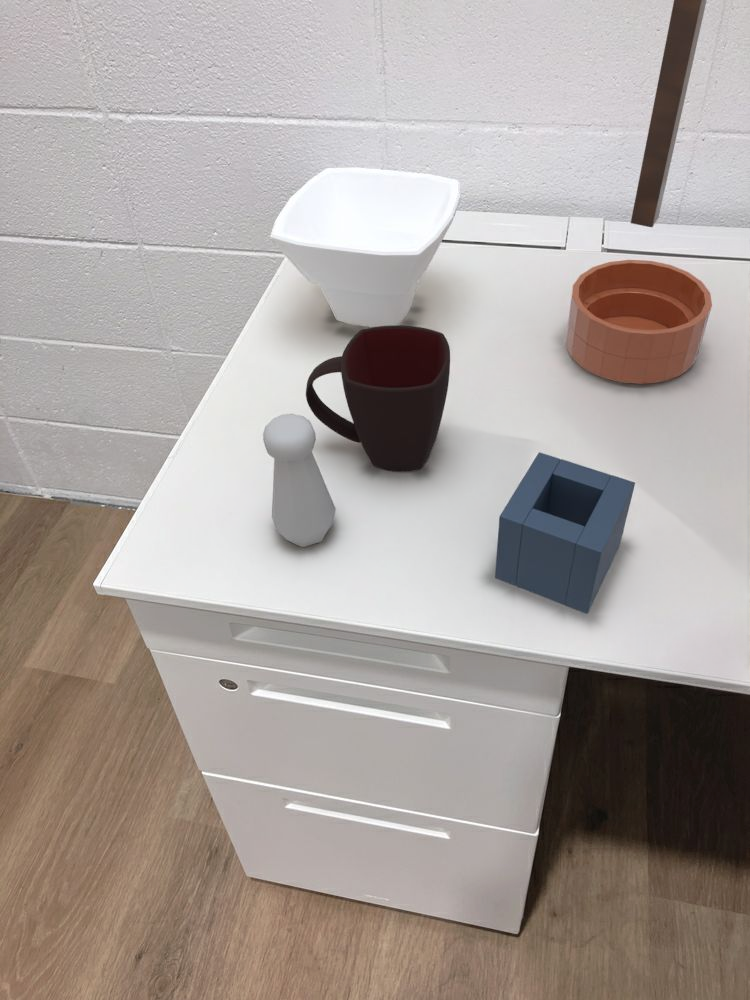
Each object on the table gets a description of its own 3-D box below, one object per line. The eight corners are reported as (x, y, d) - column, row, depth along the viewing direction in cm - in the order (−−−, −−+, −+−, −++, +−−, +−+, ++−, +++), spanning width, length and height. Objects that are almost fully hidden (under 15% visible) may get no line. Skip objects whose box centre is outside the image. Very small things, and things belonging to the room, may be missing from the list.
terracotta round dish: (710, 330, 93) (726, 276, 88) (676, 402, 84) (690, 347, 79) (590, 301, 98) (598, 249, 93) (546, 366, 90) (552, 313, 85)
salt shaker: (346, 515, 76) (333, 409, 67) (324, 560, 72) (307, 455, 63) (290, 502, 78) (269, 398, 68) (265, 546, 74) (240, 441, 64)
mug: (444, 490, 77) (444, 393, 69) (304, 480, 80) (287, 384, 71) (453, 423, 84) (455, 326, 75) (325, 415, 86) (312, 320, 78)
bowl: (429, 370, 91) (428, 258, 81) (273, 345, 96) (254, 237, 86) (470, 283, 103) (473, 177, 92) (330, 265, 108) (318, 162, 98)
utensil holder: (619, 545, 71) (635, 482, 66) (587, 614, 67) (601, 552, 61) (531, 514, 75) (538, 451, 69) (494, 577, 70) (499, 516, 64)
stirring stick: (658, 217, 74) (729, -104, 56) (652, 227, 72) (722, -98, 55) (636, 213, 74) (700, -106, 57) (630, 223, 73) (693, -100, 56)
